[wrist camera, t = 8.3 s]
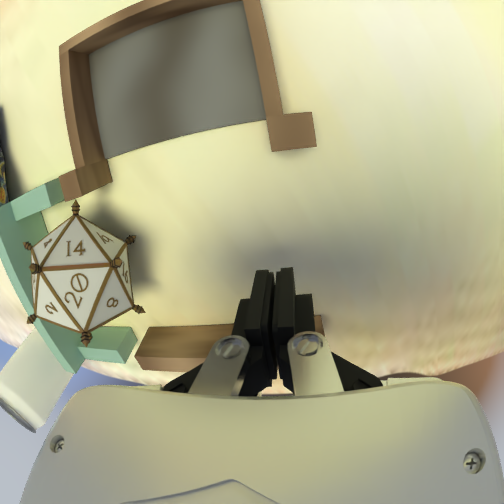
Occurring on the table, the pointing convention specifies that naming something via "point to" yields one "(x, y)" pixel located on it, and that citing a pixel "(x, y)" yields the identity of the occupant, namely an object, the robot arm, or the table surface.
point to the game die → (80, 276)
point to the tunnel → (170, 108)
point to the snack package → (3, 182)
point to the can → (32, 383)
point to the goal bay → (17, 267)
